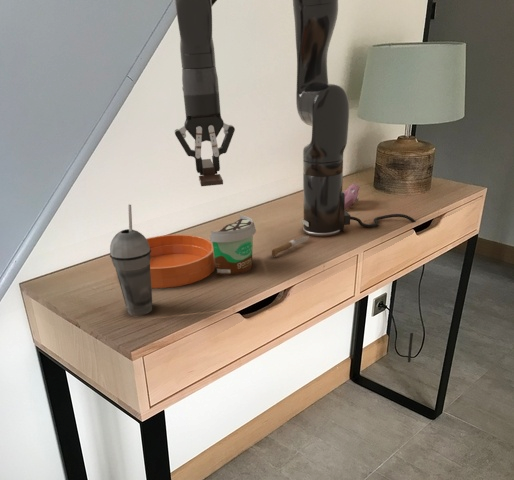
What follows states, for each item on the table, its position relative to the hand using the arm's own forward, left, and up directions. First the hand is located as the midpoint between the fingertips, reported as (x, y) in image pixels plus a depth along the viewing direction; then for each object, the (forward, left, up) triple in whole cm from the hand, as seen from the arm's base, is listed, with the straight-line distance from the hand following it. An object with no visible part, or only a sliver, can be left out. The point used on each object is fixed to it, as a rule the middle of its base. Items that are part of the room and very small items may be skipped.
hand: (208, 173), depth 131 cm
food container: (-4, +19, -16) cm, 26 cm away
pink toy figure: (-39, -18, -16) cm, 46 cm away
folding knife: (-17, +10, -16) cm, 25 cm away
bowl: (+11, +15, -16) cm, 25 cm away
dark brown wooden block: (0, 0, -1) cm, 1 cm away
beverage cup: (+17, +34, -16) cm, 41 cm away
